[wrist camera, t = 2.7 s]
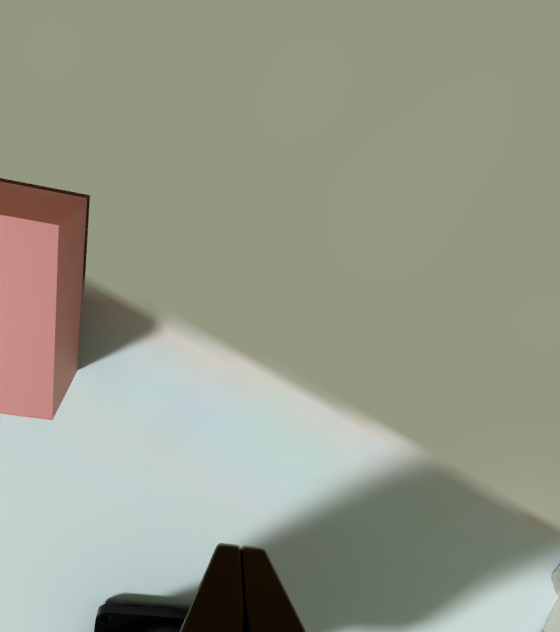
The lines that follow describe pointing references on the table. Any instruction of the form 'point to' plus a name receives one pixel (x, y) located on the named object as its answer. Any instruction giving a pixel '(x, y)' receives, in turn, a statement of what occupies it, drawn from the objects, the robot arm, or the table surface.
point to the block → (40, 295)
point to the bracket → (559, 620)
